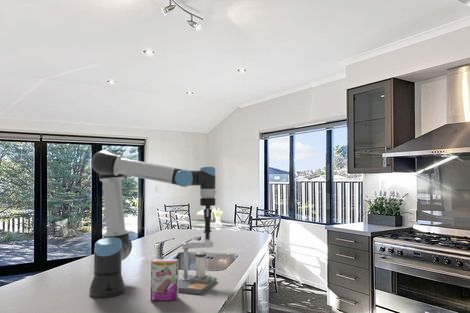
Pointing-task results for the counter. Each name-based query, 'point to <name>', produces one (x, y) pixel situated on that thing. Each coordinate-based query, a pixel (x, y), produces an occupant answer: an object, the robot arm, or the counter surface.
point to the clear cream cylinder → (200, 264)
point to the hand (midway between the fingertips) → (207, 245)
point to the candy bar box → (164, 279)
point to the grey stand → (193, 280)
